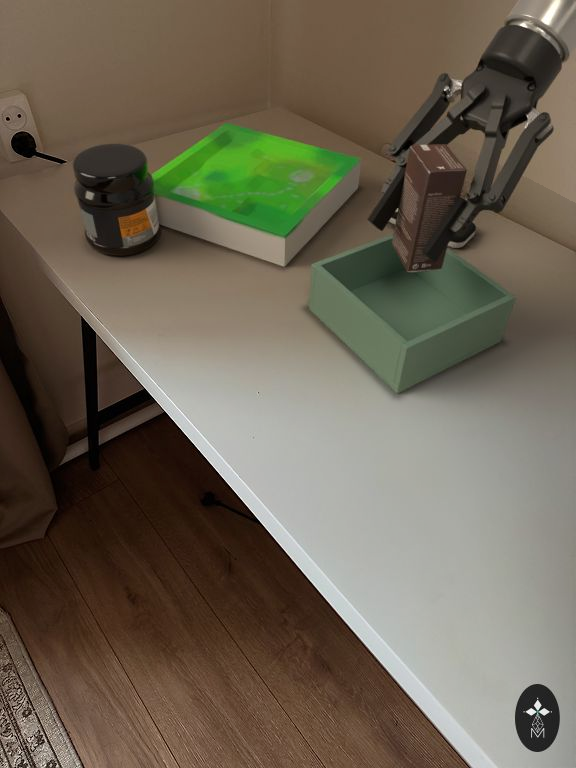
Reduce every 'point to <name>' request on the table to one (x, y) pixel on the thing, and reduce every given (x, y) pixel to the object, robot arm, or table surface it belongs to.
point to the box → (425, 202)
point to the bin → (408, 311)
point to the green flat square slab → (254, 191)
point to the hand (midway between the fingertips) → (401, 240)
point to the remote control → (456, 240)
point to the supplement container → (116, 199)
